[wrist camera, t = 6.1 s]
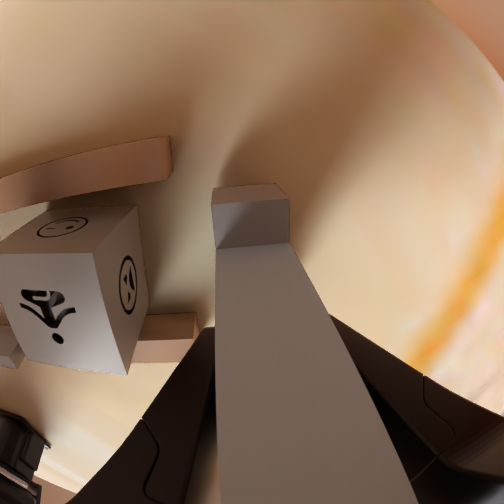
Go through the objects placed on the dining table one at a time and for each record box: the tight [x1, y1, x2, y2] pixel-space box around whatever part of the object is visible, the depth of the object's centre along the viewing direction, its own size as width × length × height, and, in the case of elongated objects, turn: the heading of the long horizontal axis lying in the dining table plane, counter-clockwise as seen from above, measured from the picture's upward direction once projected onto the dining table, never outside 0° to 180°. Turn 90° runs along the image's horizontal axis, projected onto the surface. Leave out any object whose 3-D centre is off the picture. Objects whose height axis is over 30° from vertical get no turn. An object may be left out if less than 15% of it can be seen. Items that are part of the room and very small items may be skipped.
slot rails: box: [0, 136, 200, 363], centre depth 11 cm, size 11×10×2 cm
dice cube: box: [0, 205, 150, 375], centre depth 10 cm, size 5×5×5 cm
